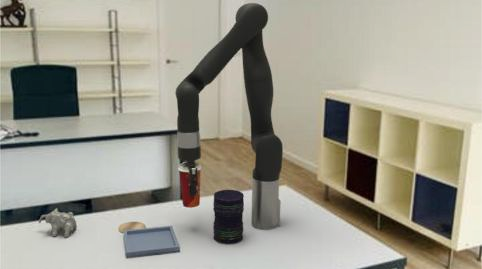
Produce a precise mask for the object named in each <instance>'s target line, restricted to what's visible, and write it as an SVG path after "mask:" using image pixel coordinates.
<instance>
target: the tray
mask: <svg viewBox="0 0 482 269" xmlns="http://www.w3.org/2000/svg"><path fill="white" fill-rule="evenodd" d="M123 231H124V233H123V240H124V242H123V243H124V249H125V250H126V251H125V257H126V259H132V258H139V257H147V256H156V255H164V254H165V255H166V254H173V253H174V254H175V253H180V252H181V247H180V244H179V240H178V238H177V235H176V232H175V230H174V227H173V225H164V226H155V227H145V228H143V229H133V230H123Z"/></svg>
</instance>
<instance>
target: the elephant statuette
mask: <svg viewBox="0 0 482 269" xmlns="http://www.w3.org/2000/svg"><path fill="white" fill-rule="evenodd" d="M44 218H45V219H44ZM43 219H44V221H45V223H46V224H50V226H51V231H52V233H51V235H52V237H57V236H58V232H59V231H62V230H64V233H63V236H64V238H66V239H67V238H69V237H70V232H71V229H73V230H77V227H78V226H77V220H76V218H75V217H74V213H73V212H71V211H69V212H64V211H63V212H60V211H59V210H58V207H56V208H55V209H53V211H51V212H49V213H47V214H42V215H41V216H40V218H39V220H38V224H41V223H42V220H43ZM58 230H59V231H58Z"/></svg>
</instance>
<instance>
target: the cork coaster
mask: <svg viewBox="0 0 482 269" xmlns="http://www.w3.org/2000/svg"><path fill="white" fill-rule="evenodd" d="M143 228H146V225H145V223H143V222H142V221H129V222H128V221H127V222H123V223H122V224H119V226H118V228H117V229H118V232H119V233H121V234H124V231H123V230H133V229H143Z"/></svg>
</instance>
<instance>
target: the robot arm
mask: <svg viewBox="0 0 482 269" xmlns="http://www.w3.org/2000/svg"><path fill="white" fill-rule="evenodd" d="M268 22H269V13H268V11H267V9H266V8H265V6H263V5H262V4H259V3H257V2H252V3H251V2H250V3H249V2H248V3H244V4H242V5H241V6H240V7H239V8H238V9H237V11H236V13H235V22H234V25H233V26H232V27H231V29H230V30H229V32H227V34H226V35H225V36H224V37H223V38H222V39H221V40H220V41H218V43H216V44H215V45H214V46H213V47H212V48H211V49H210V50H209V51H208V52H207V53H206V54H205V55H204V57H203V58H202V59H201V60H200V61H199V62H198V64H196V66H195V67H194V68H193V70H192V71H191V72H190V73H189V74H187V76H186V77H185V78H184V79H183V80H182V81H180V83H179V84H178V85H177V87H176V89H175V92H174V93H175V97H176V101H177V102H176V105H177V120H176V123H177V124H176V125H177V135H176V136H177V137H176V139H177V140H176V142H177V146H176V147H177V158H178V160H180V161H182V163H183V164H186V165H184V167H188V170H189V176H188V175H187V179H188V181H189V195H190V197H193V196H196V185H198V173H197V170H198V169H197V168H195V166H197V165H196V164H195V162H196V161H197V160H200V159H201V158H202V148H201V145H202V143H201V134H200V133H201V132H200V118H199V111H200V94H201V93H202V91H203V90H204V89H205V87H207V86H209V85H210V84H212V82H213V81H214V80H215V79H216V78H217V77H218V76H219V74H220V73H222V71H223V70H224V69H225V67H226V66H227V65H228V64H229V63H230V62H231V61H232V59H233V58H234V57H235V55H237V54H238V52H239V51H240V50H241V56H242V70H243V72H242V73H243V80H244V81H243V82H244V91H245V97H246V103H247V107H248V111H249V116H250V145H251V149H252V151H253V152H254V154H255V162H254V168H253V170H252V177H251V178H252V180H251V182H252V183H251V185H252V187H251V226H252V227H253V228H256V229H258V230H271V229H272V230H273V229H275V228H277V227H280V226H281V225H280V224H281V223H280V222H281V199H280V197H279V196H280V195H279V194H280V193H279V192H280V174H281V172H282V167H283V154H284V153H283V143H282V142H283V141H282V140H281V138H280V137H279V136H277V134H275V130H274V126H273V121H272V107H273V101H274V82H273V75H272V70H271V65H270V63H269V59H268V57H267V54H266V51H265V48H264V39H263V38H264V36H263V30H264V29H265V28H266V26H267V25H268ZM184 162H185V163H184ZM192 179H194V182H192Z"/></svg>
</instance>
